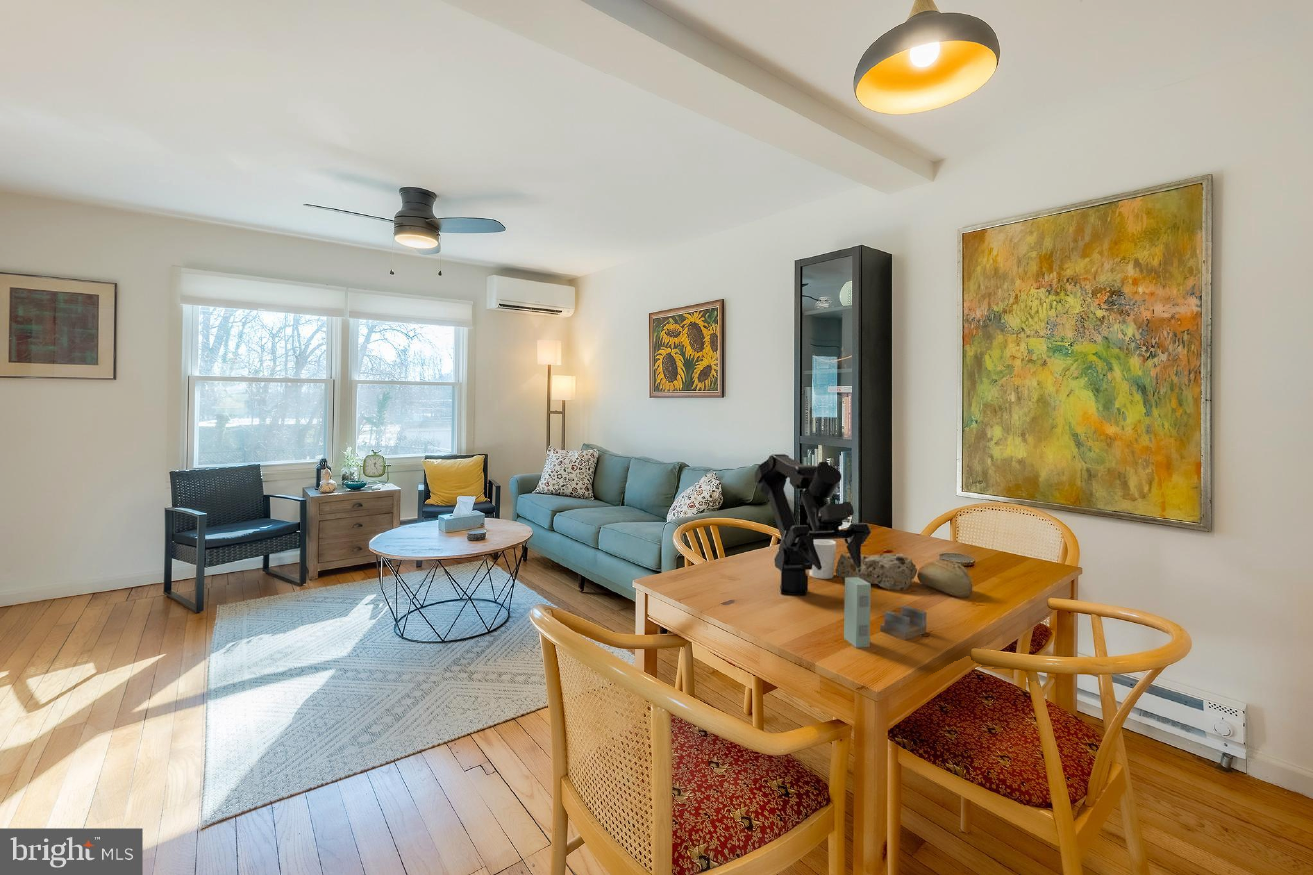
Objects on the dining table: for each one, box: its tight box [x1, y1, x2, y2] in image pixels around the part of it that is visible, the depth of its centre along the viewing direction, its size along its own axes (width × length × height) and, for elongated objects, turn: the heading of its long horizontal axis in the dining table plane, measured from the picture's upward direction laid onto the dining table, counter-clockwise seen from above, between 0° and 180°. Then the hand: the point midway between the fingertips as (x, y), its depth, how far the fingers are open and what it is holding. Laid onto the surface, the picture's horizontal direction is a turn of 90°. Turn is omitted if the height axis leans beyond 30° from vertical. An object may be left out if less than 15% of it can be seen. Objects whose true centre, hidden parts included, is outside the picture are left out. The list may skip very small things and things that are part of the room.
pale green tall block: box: [843, 577, 872, 649], centre depth 120 cm, size 5×3×13 cm, turn 10°
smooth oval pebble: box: [916, 558, 973, 599], centre depth 154 cm, size 10×15×8 cm, turn 27°
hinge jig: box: [879, 605, 928, 641], centre depth 126 cm, size 6×8×4 cm
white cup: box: [808, 539, 837, 580], centre depth 167 cm, size 8×8×10 cm
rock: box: [834, 553, 918, 591], centre depth 163 cm, size 21×14×10 cm
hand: (839, 568), depth 127 cm, fingers open, 9 cm apart
